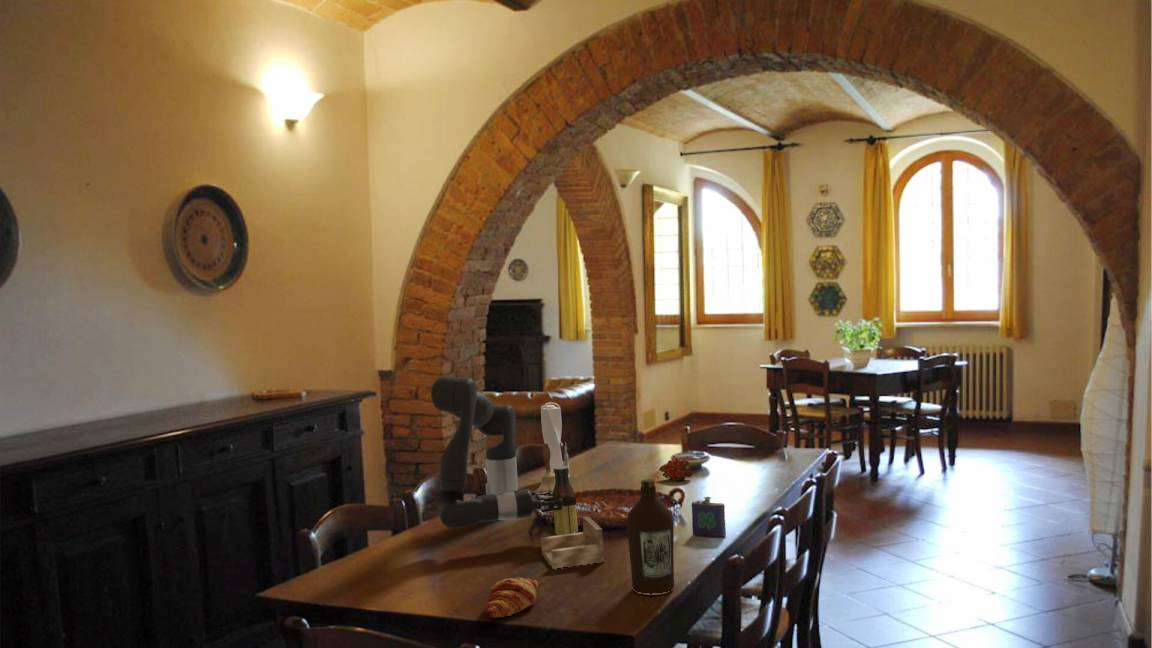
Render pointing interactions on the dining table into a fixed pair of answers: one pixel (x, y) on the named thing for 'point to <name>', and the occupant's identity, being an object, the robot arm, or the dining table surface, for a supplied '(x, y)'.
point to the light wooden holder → (575, 547)
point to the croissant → (511, 596)
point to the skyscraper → (553, 434)
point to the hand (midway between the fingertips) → (572, 497)
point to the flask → (708, 519)
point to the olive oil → (651, 542)
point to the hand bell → (547, 472)
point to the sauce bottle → (567, 514)
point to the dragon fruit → (677, 469)
